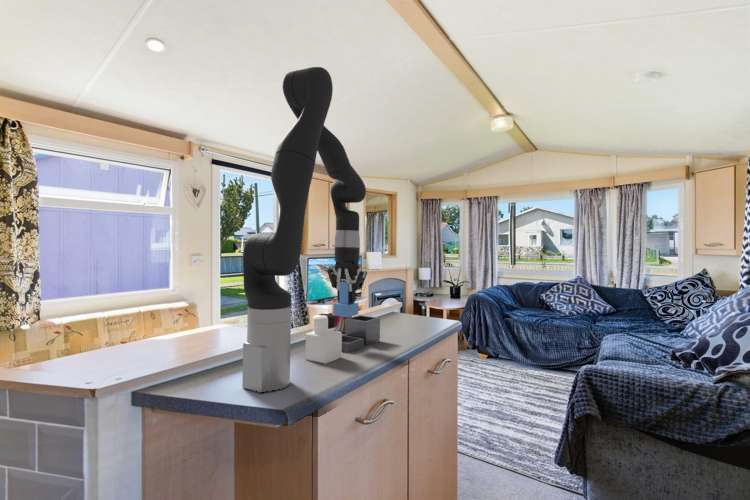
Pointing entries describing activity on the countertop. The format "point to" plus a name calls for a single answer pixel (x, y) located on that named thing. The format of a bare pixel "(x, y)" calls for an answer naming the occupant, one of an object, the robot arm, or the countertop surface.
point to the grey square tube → (363, 328)
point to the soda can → (339, 319)
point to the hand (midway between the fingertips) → (346, 302)
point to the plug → (345, 302)
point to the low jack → (351, 343)
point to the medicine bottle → (323, 340)
